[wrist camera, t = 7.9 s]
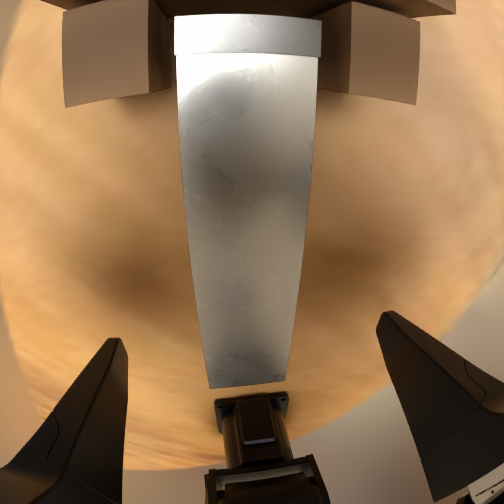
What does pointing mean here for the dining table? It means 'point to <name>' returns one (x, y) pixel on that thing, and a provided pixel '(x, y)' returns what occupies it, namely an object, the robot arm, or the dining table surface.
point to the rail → (246, 182)
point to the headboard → (260, 3)
